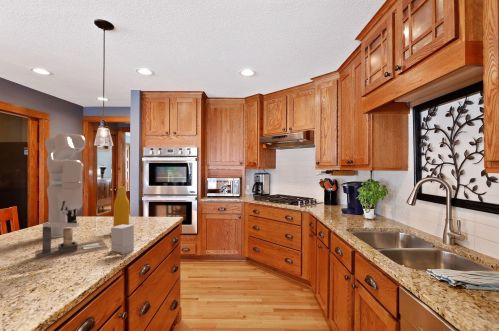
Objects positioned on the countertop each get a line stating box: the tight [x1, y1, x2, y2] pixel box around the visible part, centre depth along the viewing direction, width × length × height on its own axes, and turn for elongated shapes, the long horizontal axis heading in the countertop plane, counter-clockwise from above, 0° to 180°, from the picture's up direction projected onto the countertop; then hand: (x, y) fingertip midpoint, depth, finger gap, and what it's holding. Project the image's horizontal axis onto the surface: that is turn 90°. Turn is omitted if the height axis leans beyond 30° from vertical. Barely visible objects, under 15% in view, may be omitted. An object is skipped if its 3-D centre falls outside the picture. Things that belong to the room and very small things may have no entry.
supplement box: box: [110, 224, 135, 255], centre depth 122 cm, size 7×7×13 cm
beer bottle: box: [113, 186, 130, 227], centre depth 161 cm, size 9×9×29 cm
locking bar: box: [42, 219, 80, 229], centre depth 115 cm, size 16×3×3 cm, turn 93°
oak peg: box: [62, 227, 74, 246], centre depth 120 cm, size 4×4×11 cm
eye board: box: [34, 227, 110, 263], centre depth 121 cm, size 20×28×14 cm
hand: (71, 224), depth 118 cm, fingers closed
